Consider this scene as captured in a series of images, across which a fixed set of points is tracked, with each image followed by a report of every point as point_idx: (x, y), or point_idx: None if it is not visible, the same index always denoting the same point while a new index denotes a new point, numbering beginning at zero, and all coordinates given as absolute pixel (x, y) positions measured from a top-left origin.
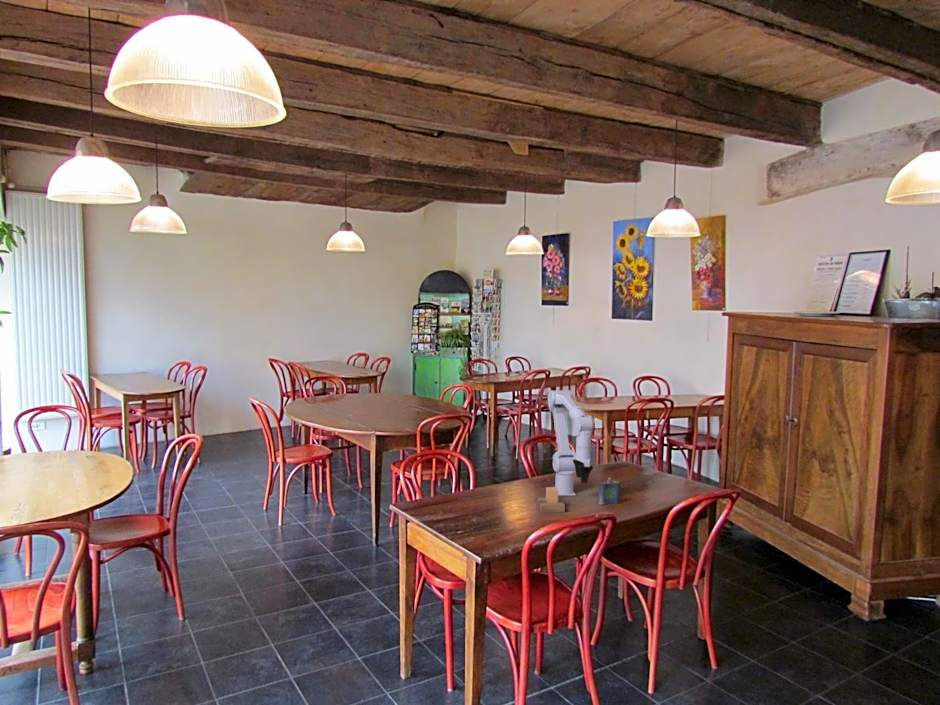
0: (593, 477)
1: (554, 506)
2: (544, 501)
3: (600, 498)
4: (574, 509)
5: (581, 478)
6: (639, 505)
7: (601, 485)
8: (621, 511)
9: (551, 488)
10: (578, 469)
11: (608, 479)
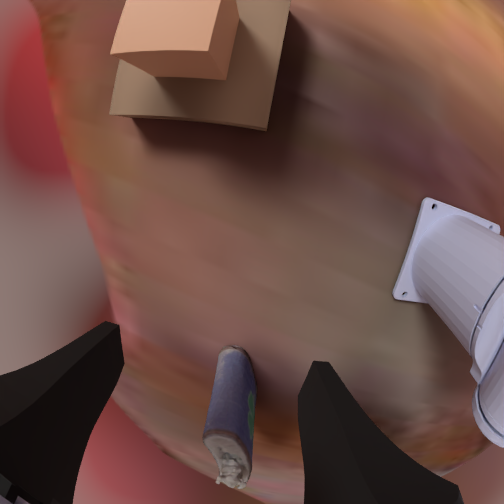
0: None
1: None
2: None
3: (220, 370)
4: (171, 191)
5: (73, 341)
6: None
7: (207, 428)
8: (143, 377)
9: (178, 3)
10: (328, 442)
11: (226, 477)
